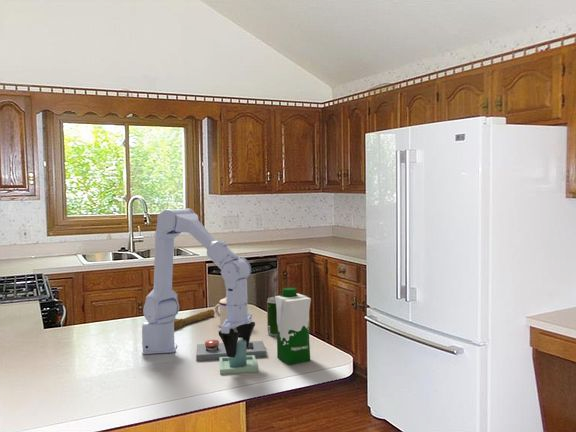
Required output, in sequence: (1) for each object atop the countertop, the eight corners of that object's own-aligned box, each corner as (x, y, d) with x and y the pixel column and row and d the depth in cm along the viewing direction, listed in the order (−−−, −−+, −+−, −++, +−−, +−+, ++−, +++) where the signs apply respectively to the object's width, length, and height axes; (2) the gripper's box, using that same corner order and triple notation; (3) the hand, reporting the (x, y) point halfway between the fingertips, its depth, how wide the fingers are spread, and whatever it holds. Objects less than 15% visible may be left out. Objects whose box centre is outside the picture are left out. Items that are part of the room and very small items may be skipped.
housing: (196, 360, 148) (196, 355, 148) (197, 349, 158) (197, 344, 158) (266, 356, 151) (266, 350, 151) (262, 345, 161) (262, 340, 161)
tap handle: (215, 309, 198) (156, 327, 173) (215, 317, 198) (156, 336, 173) (209, 308, 200) (149, 326, 175) (209, 316, 200) (150, 335, 175)
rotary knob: (240, 368, 139) (240, 343, 139) (225, 366, 142) (225, 340, 141) (249, 363, 144) (249, 338, 143) (235, 360, 146) (234, 336, 145)
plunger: (205, 355, 151) (205, 344, 151) (205, 351, 155) (205, 340, 155) (219, 354, 152) (218, 343, 152) (218, 350, 156) (218, 339, 156)
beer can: (273, 337, 170) (272, 301, 169) (264, 333, 174) (264, 298, 174) (286, 334, 173) (286, 298, 172) (278, 330, 177) (277, 296, 176)
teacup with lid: (250, 324, 186) (249, 292, 185) (235, 330, 178) (234, 297, 177) (223, 320, 192) (222, 289, 191) (207, 326, 184) (206, 293, 183)
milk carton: (299, 352, 154) (298, 285, 153) (315, 361, 146) (314, 291, 145) (273, 357, 150) (272, 288, 149) (287, 366, 142) (286, 294, 141)
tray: (220, 374, 137) (219, 369, 137) (219, 361, 147) (219, 357, 147) (257, 371, 139) (257, 367, 138) (254, 359, 148) (254, 355, 148)
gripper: (237, 310, 134) (238, 362, 134) (261, 298, 147) (262, 346, 148) (213, 308, 136) (214, 359, 137) (239, 297, 150) (239, 343, 150)
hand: (237, 352), depth 143 cm, fingers open, 7 cm apart
